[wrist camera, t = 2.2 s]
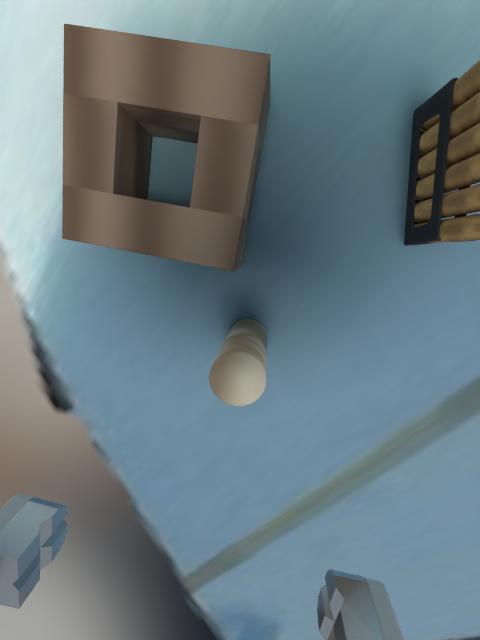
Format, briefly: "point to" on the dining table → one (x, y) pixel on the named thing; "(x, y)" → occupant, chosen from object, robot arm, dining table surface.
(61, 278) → the dining table surface
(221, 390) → the peg
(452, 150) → the ammunition clip
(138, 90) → the socket block
